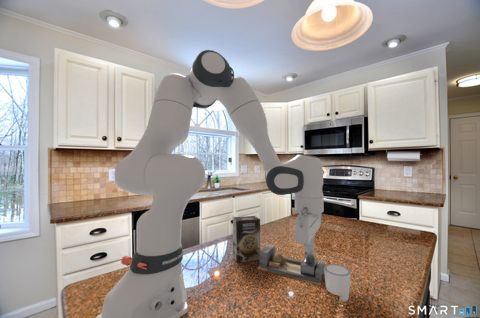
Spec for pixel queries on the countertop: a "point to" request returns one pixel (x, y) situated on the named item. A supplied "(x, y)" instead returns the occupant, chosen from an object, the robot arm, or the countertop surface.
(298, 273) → the grey holder tray
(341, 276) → the shot glass
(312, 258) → the ram
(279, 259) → the walnut
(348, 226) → the countertop surface
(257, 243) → the coffee box
